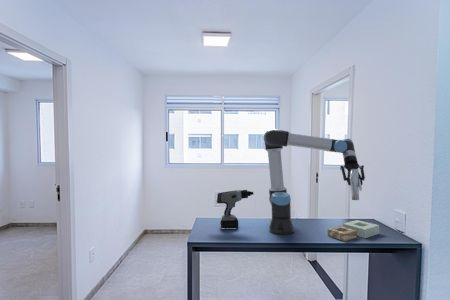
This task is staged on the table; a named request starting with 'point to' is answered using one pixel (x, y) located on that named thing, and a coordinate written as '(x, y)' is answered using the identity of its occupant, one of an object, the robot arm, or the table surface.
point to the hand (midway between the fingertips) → (356, 189)
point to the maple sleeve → (342, 233)
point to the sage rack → (363, 228)
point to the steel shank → (355, 184)
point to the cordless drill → (231, 206)
